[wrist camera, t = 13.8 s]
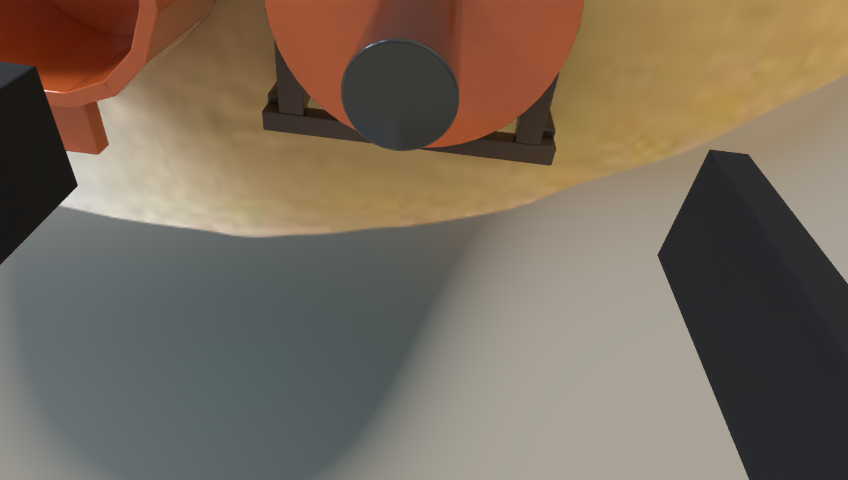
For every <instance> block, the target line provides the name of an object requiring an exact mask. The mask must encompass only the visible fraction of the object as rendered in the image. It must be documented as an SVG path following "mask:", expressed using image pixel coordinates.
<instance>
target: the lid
mask: <svg viewBox="0 0 848 480" xmlns="http://www.w3.org/2000/svg"><path fill="white" fill-rule="evenodd" d="M264 3H265V9H266V13H267V17H268V21H269V25H270V28H271V31H272V34H273V36H274V39H275V41H276V44H277V47H278V49H279V51H280V53H281V55H282V56H283V58H284V60H285V62H286V64H287V66H288V68H289V69H290V70H291V72H292V73H293V75H294V76H295V78H296V79H297V81H298V82H299V84H300V85H301V86H302V87H303V88H304V89H305V91H306V92H307V93H308V94H309V95H310V96H311V98H313V99H314V100H315V101H316V102H317V103H318V104H319V105H320V106H321V107H322V108H323V109H324V110H325V111H327V112H328V113H329V114H331V115H332V116H333V117H335V118H336V119H338V120H339V121H340V122H342V123H344V124H345V125H347V126H349V127H351V128H352V129H354V130H356V131H358V132H359V133H360V134H361V135H362V136H363V137H364V138H366V139H367V140H368V141H370V142H372V143H374V144H376V145H378V146H380V147H383V148H386V149H390V150H397V151H410V150H416V149H420V148H431V147H445V146H451V145H457V144H462V143H465V142H469V141H472V140H476V139H479V138H481V137H483V136H486V135H488V134H490V133H493V132H495V131H497V130H498V129H500V128H502V127H503V126H505V125H507V124H509V123H510V122H512V121H513V120H514V119H516V118H517V117H518V116H520V115H521V114H522V113H524V112H525V111H526V110H527V109H528V108H529V107H530V106H532V105H533V104H534V103H535V102H536V101H537V100H538V99H539V98H540V97H541V96H542V94H543V93H544V92H545V91H546V90H547V88H548V87H549V86H550V85H551V83H552V82H553V81H554V79H555V77H556V76H557V74H558V73H559V71H560V70H561V68H562V67H563V65H564V63H565V61H566V59H567V57H568V55H569V52H570V50H571V48H572V46H573V43H574V40H575V37H576V34H577V32H578V29H579V25H580V20H581V16H582V11H583V6H584V0H264Z"/></svg>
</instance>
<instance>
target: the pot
mask: <svg viewBox="0 0 848 480" xmlns="http://www.w3.org/2000/svg"><path fill="white" fill-rule="evenodd" d="M214 2H215V0H0V62H6V63H14V64H22V65H30V66H36V68H37V71H38V74H39V77H40V79H41V82H42V85H43V88H44V91H45V94H46V96H47V99H48V102H49V105H50V108H51V111H52V114H53V116H54V119H55V122H56V125H57V128H58V131H59V133H60V136H61V139H62V142H63V145H64V148H65V150H66V151H73V152H81V153H89V154H97V155H98V154H100V153H101V152H102V151H103V150H104V149H105V148H106V147H107V146H108V145H109V143H108V140H107V136H106V133H105V129H104V126H103V122H102V119H101V115H100V112H99V108H98V105H97V101H99V100H103V99H106V98H110V97H113V96H116V95H118V94H119V93H120V92H121V91H123V90H124V89H125V88H126V87H127V86H129V85H130V84H131V83H132V82H133V81H135V80H136V79H137V78H138V77H139V76H141V75H142V74H143V73H144V72H145V71H147V70H148V69H149V68H150V67H151V66H152V65H154V64H155V63H156V62H157V61H158V60H160V59H161V58H162V57H163V56H164V55H166V54H167V53H168V52H169V51H170V50H172V49H173V48H174V47H175V46H176V45H178V44H179V43H180V42H181V41H182V40H183V39H185V37H186V36H187V35H188V34H189V33H190V32H191V31H192V30H193V29H194V28H195V27H196V26H197V25H198V24H199V23H200V22H201V21H202V20H203V19H204V18H205V17H206V15H207V14H208V13H209V12H210V10H211V7H212V5H213V3H214Z"/></svg>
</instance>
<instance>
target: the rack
mask: <svg viewBox="0 0 848 480" xmlns="http://www.w3.org/2000/svg"><path fill="white" fill-rule="evenodd" d="M274 42H275V57H276V73H277V82H276V83H275V85H274V86H273V88H272V89H271V91H270V92H269V94H268V103H267V105H266V106H265V108H264V109H263V111H262V116H263V128H264V130H271V131H279V132H287V133H295V134H303V135H311V136H319V137H327V138H335V139H342V140H350V141H358V142H366V143H372V142H370V141H368V140H367V139H366V138H364V137H363V136H362V135H361V134H360V133H359V132H358V131H356V130H354V129H352V128H351V127H349V126H347V125H345V124H344V123H342V122H340V121H339V120H338V119H336V118H335V117H333V116H332V115H331V114H329V113H328V112H327V111H325V110H322V109H314V108H307V103H308V102H309V100H310V98H311V96H310V95H309V94H308V93H307V92H306V91H305V89H304V88H303V87H302V86H301V85H300V84H299V82H298V81H297V79H296V78H295V76H294V75H293V73H292V72H291V70H290V69H289V68H288V66H287V64H286V62H285V60H284V58H283V56H282V55H281V53H280V51H279V49H278V47H277V44H276V41H275V39H274ZM559 72H560V71H559ZM558 76H559V73H558V74H557V76H556V77H555V79H554V81H553V82H552V83H551V85H550V86H549V87H548V88H547V90H546V91H545V92H544V93H543V94H542V96H541V97H540V98H539V99H538V100H537V101H536V102H535V103H534V104H533V105H532V106H530V107H529V108H528V109H527V110H526V111H525V112H524V113H522V114H521V115H520V116H518V117H517V124H516V129H515V133H514V134H513V133H505V132H497V131H495V132H493V133H490V134H488V135H486V136H483V137H481V138H479V139H476V140H472V141H469V142H465V143H462V144H457V145H451V146H445V147H431V148H420V149H422V150H430V151H438V152H446V153H454V154H462V155H470V156H478V157H486V158H494V159H502V160H510V161H518V162H526V163H534V164H542V165H552V161H553V158H554V155H555V151H556V146H555V142H554V135H555V132H556V131H555V127H554V123H553V119H552V115H551V112H550V106H551V102H552V98H553V94H554V91H555V87H556V83H557V79H558Z"/></svg>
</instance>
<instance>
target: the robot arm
mask: <svg viewBox="0 0 848 480" xmlns="http://www.w3.org/2000/svg"><path fill="white" fill-rule="evenodd" d="M77 186H78V185H77V182H76V179H75V176H74V173H73V170H72V167H71V165H70V162H69V159H68V156H67V153H66V150H65V148H64V145H63V142H62V139H61V136H60V133H59V131H58V128H57V125H56V122H55V119H54V116H53V114H52V111H51V108H50V105H49V102H48V99H47V96H46V94H45V91H44V88H43V85H42V82H41V79H40V77H39V74H38V71H37V68H36V66H30V65H22V64H14V63H6V62H0V264H1V263H3V261H4V260H5V259H6V258H7V257H8V256H9V255H10V254H11V253H12V252H13V251H14V250H15V249H16V248H17V247H18V246H19V245H20V244H21V243H22V242H23V241H24V240H25V239H26V238H27V237H28V236H29V235H30V234H31V233H32V232H33V231H34V230H35V229H36V228H37V227H38V226H39V225H40V223H42V222H43V220H45V219H46V218H47V217H48V216H49V215H50V213H52V211H53V210H54V209H55V208H56V207H57V206H58V205H59V204H60V203H61V202H62V201H63V200H64V199H65V198H66V197H67V196H68V195H69V194H70V193H71V192H72V191H73V190H74V189H75V188H76V187H77ZM658 257H659V260H660V262H661V265H662V267H663V270H664V272H665V275H666V277H667V279H668V282H669V284H670V287H671V289H672V292H673V294H674V297H675V299H676V301H677V304H678V306H679V309H680V311H681V314H682V316H683V319H684V321H685V324H686V326H687V328H688V331H689V333H690V336H691V338H692V340H693V343H694V345H695V348H696V350H697V353H698V355H699V358H700V360H701V363H702V365H703V368H704V370H705V372H706V375H707V377H708V380H709V382H710V384H711V387H712V389H713V392H714V395H715V397H716V399H717V402H718V404H719V407H720V409H721V412H722V414H723V417H724V419H725V421H726V424H727V426H728V429H729V431H730V434H731V436H732V439H733V441H734V443H735V446H736V448H737V451H738V453H739V456H740V458H741V461H742V463H743V465H744V468H745V470H746V473H747V475H748V478H749V480H848V284H847V283H846V281H845V280H844V279H843V277H842V276H841V275H840V273H839V272H838V271H837V269H836V268H835V267H834V266H833V264H832V263H831V262H830V260H829V259H828V258H827V257H826V255H825V254H824V253H823V251H822V250H821V249H820V247H819V246H818V245H817V243H816V242H815V241H814V239H813V238H812V237H811V236H810V234H809V233H808V232H807V230H806V229H805V228H804V227H803V225H802V224H801V223H800V221H799V220H798V219H797V217H796V216H795V215H794V213H793V212H792V211H791V210H790V208H789V207H788V206H787V204H786V203H785V202H784V200H783V199H782V198H781V197H780V195H779V194H778V193H777V191H776V190H775V189H774V187H773V186H772V185H771V184H770V182H769V181H768V180H767V178H766V177H765V176H764V175H763V173H762V172H761V171H760V170H759V168H758V167H757V165H756V164H755V163H754V161H753V160H752V159H751V158H750V156H749V155H748V154H741V153H733V152H725V151H716V150H709V152H708V154H707V156H706V158H705V160H704V163H703V164H702V166H701V168H700V170H699V172H698V174H697V177H696V179H695V180H694V182H693V184H692V187H691V189H690V191H689V193H688V195H687V197H686V199H685V201H684V203H683V205H682V207H681V209H680V211H679V213H678V215H677V217H676V219H675V221H674V223H673V225H672V227H671V229H670V231H669V233H668V235H667V237H666V239H665V241H664V243H663V245H662V247H661V249H660V251H659V253H658Z"/></svg>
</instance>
